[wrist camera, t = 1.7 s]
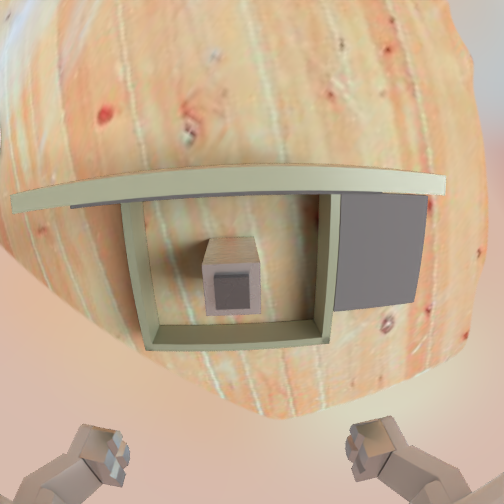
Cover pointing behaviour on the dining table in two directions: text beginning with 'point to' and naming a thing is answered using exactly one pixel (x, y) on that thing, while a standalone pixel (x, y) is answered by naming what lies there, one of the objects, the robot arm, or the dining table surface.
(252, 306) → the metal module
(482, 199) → the dining table surface
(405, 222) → the rubber mat
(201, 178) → the olive open box frame
